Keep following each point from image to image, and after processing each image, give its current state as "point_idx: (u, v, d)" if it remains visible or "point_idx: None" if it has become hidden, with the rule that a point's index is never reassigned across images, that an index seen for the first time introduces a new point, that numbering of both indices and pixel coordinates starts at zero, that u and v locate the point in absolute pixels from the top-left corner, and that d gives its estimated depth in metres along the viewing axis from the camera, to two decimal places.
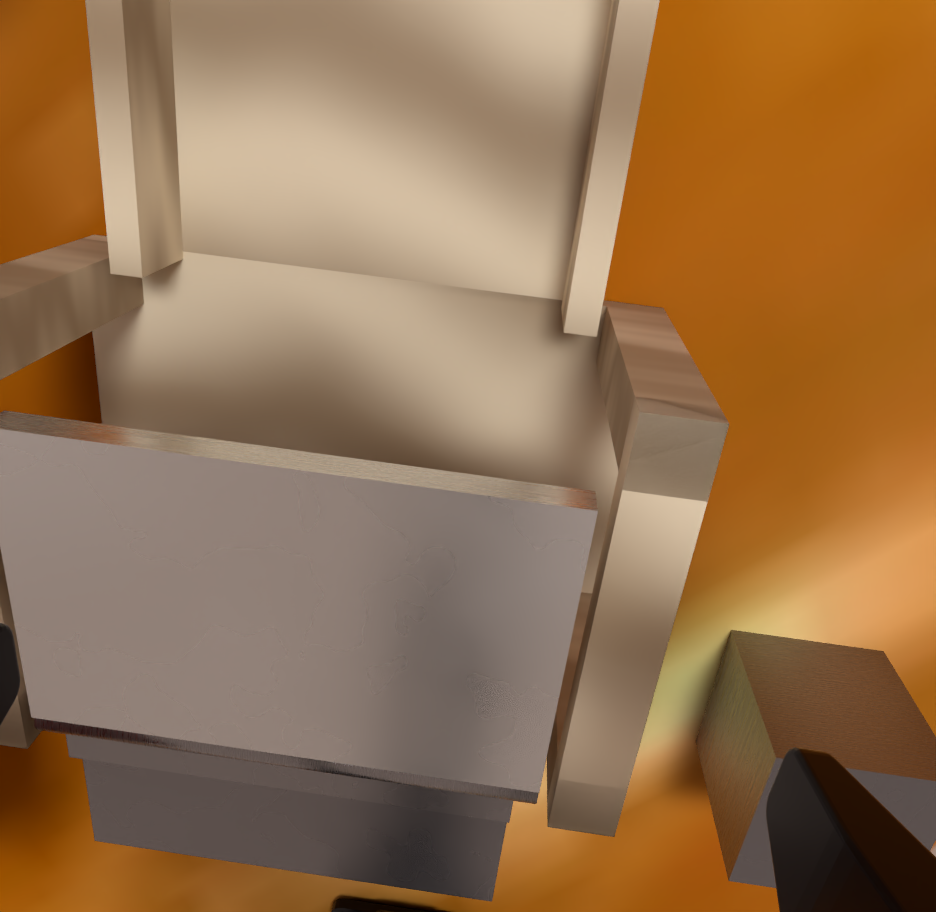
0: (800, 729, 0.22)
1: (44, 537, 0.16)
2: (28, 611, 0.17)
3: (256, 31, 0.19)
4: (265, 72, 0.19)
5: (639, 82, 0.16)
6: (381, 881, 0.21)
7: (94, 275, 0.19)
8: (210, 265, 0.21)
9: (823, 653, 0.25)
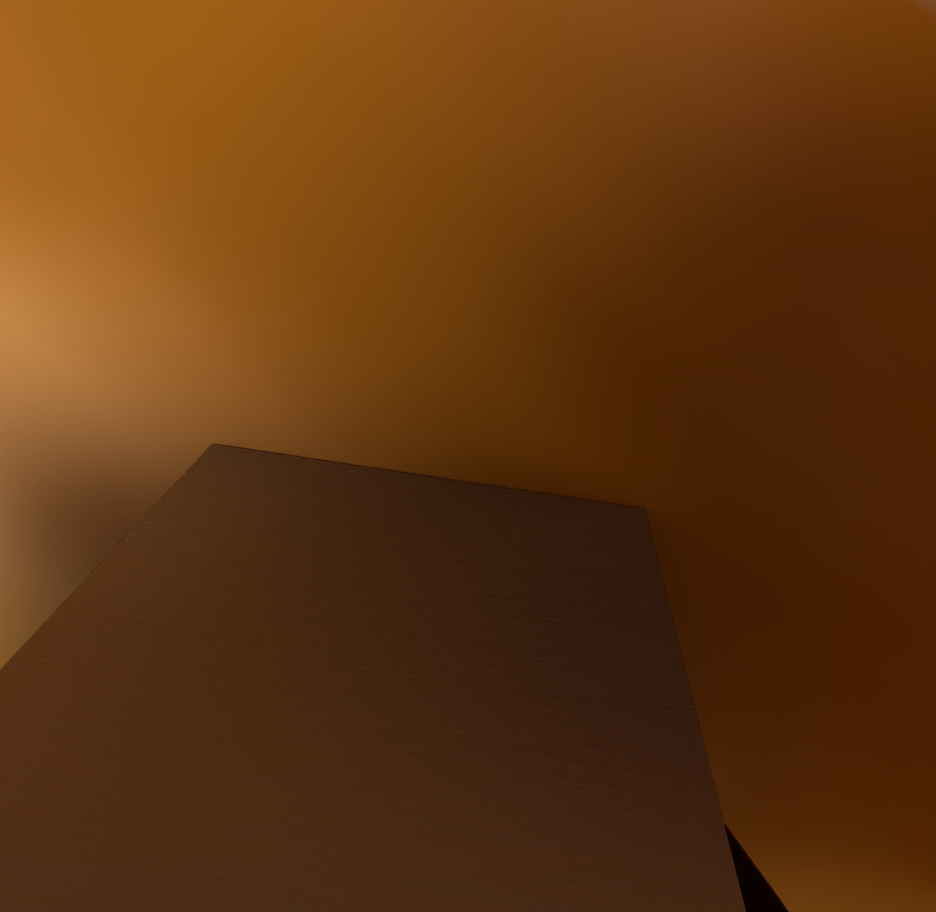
0: None
1: None
2: None
3: None
4: None
5: None
6: None
7: None
8: None
9: None
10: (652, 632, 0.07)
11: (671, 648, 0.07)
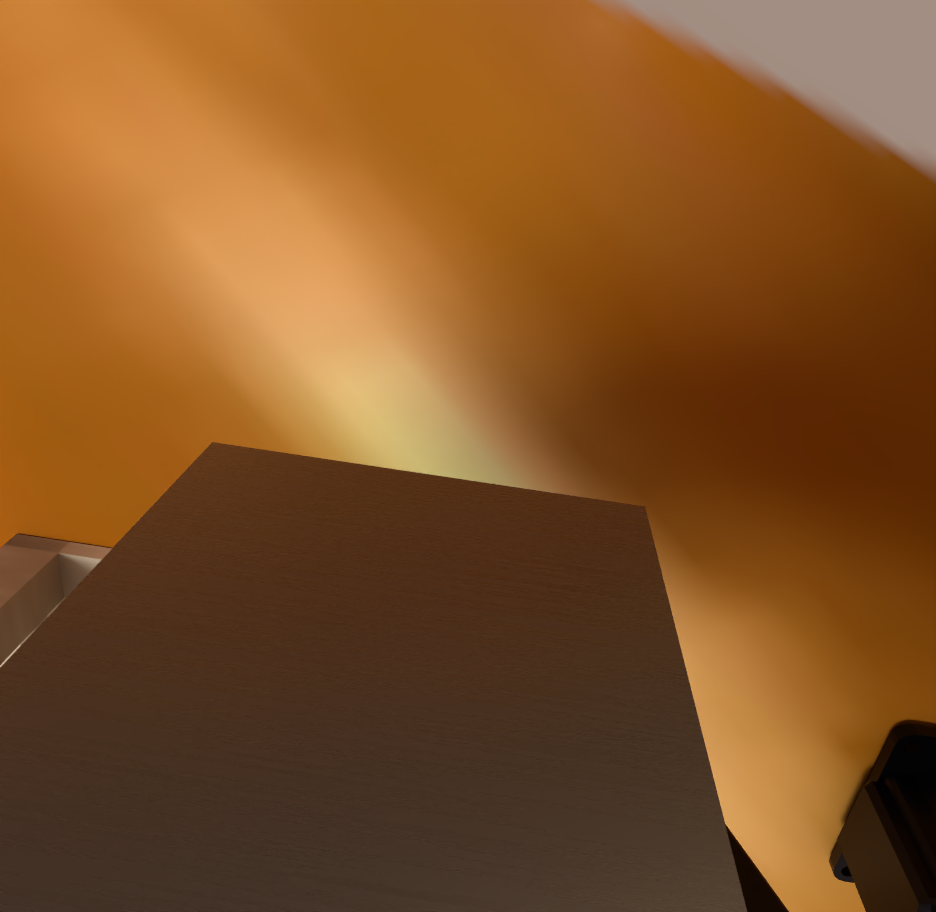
0: None
1: None
2: None
3: None
4: None
5: None
6: None
7: None
8: None
9: None
10: (652, 629, 0.07)
11: (671, 645, 0.07)
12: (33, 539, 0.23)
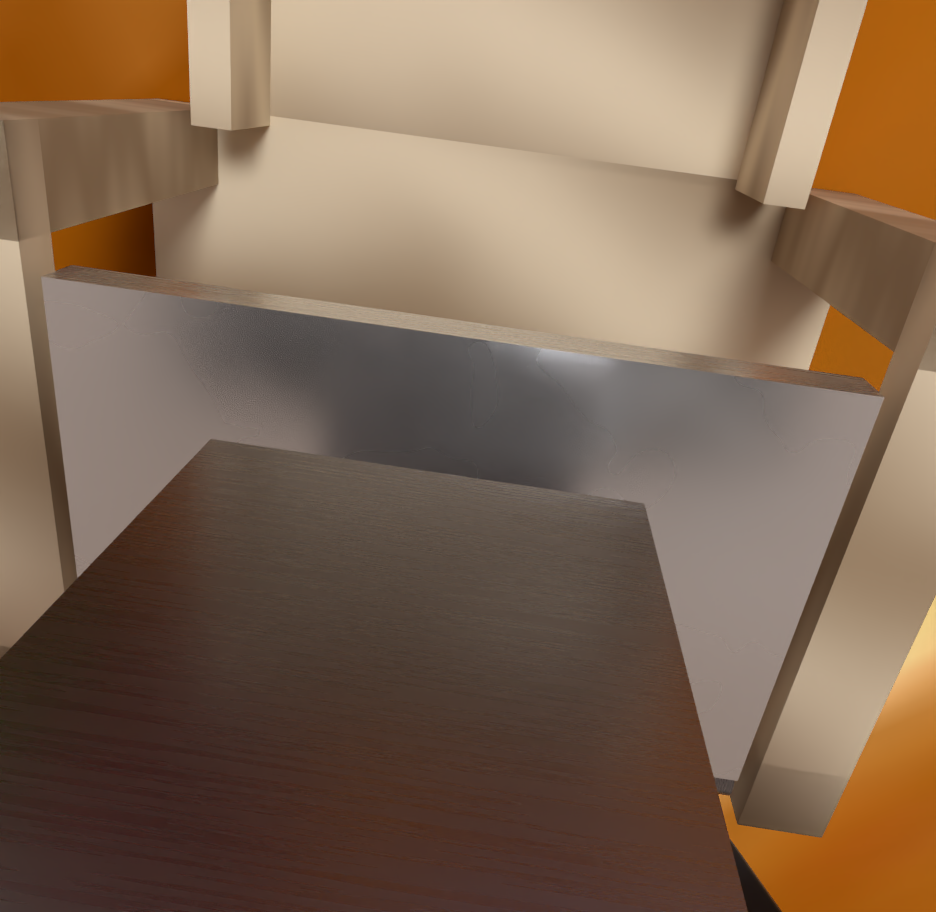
0: None
1: (121, 436, 0.12)
2: (94, 538, 0.13)
3: None
4: None
5: None
6: None
7: (170, 127, 0.15)
8: (303, 134, 0.17)
9: None
10: (652, 625, 0.07)
11: (669, 640, 0.07)
12: None
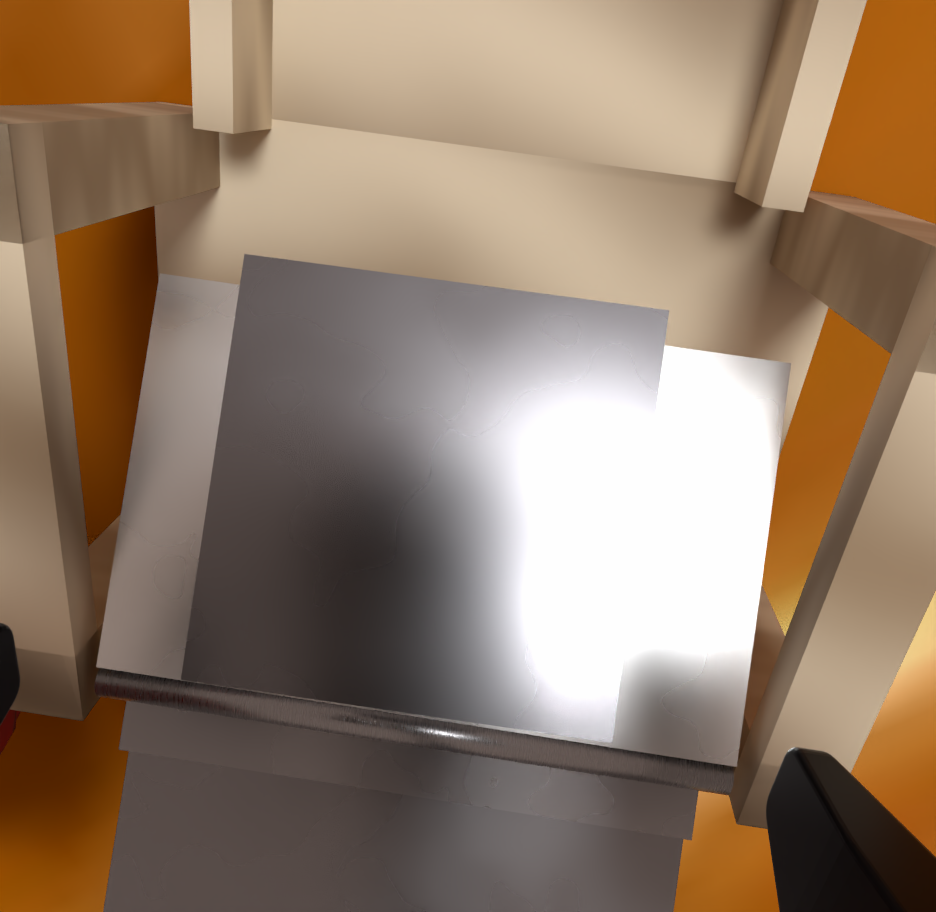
0: None
1: (191, 403, 0.15)
2: (142, 503, 0.15)
3: None
4: None
5: None
6: None
7: (172, 130, 0.15)
8: (304, 137, 0.17)
9: None
10: None
11: None
12: None
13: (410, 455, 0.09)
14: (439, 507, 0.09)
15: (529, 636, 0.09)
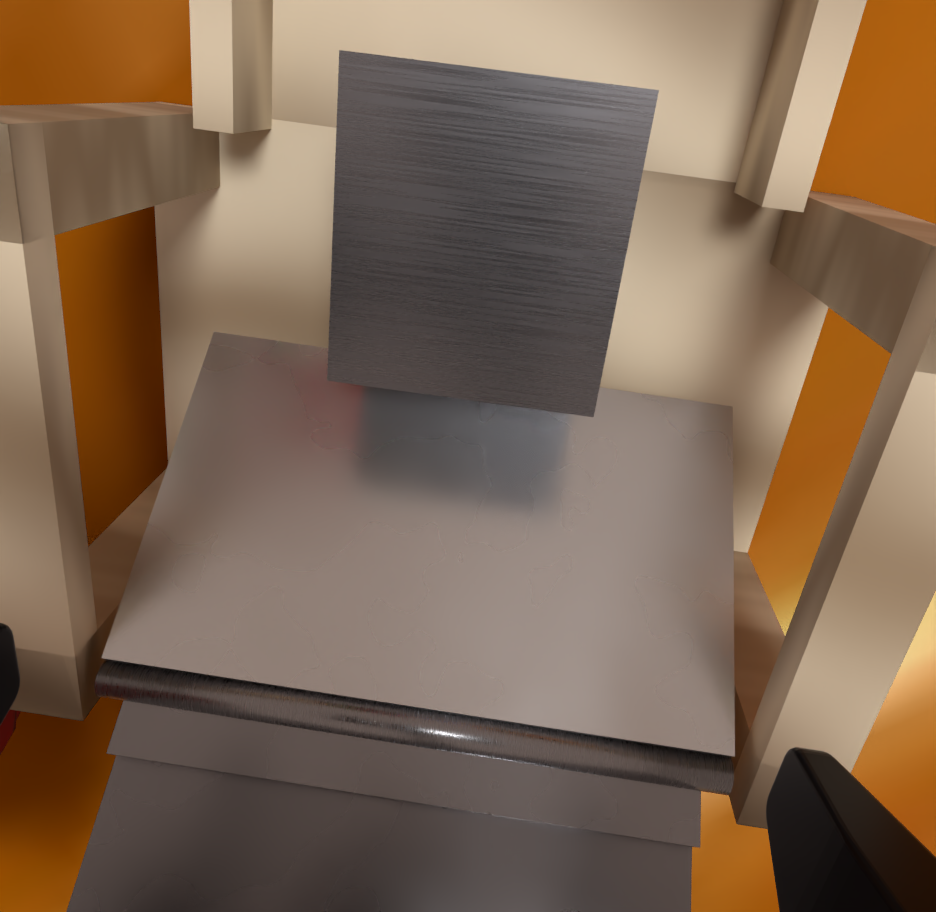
0: None
1: (227, 427, 0.17)
2: (171, 507, 0.16)
3: None
4: None
5: None
6: None
7: (172, 130, 0.15)
8: (304, 137, 0.17)
9: None
10: None
11: None
12: None
13: None
14: None
15: None
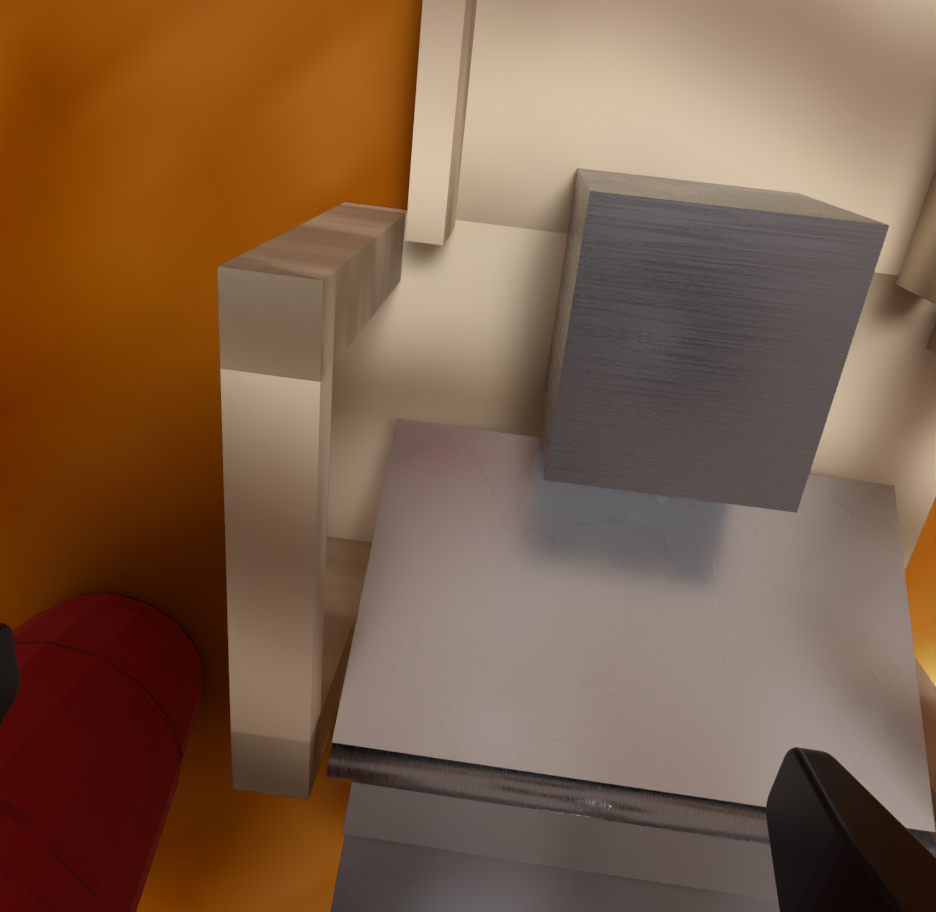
0: (575, 253, 0.14)
1: (422, 513, 0.18)
2: (378, 593, 0.17)
3: None
4: (587, 6, 0.16)
5: None
6: None
7: (385, 243, 0.16)
8: (485, 236, 0.18)
9: (547, 400, 0.18)
10: None
11: None
12: None
13: (693, 188, 0.16)
14: (719, 194, 0.15)
15: (803, 209, 0.14)
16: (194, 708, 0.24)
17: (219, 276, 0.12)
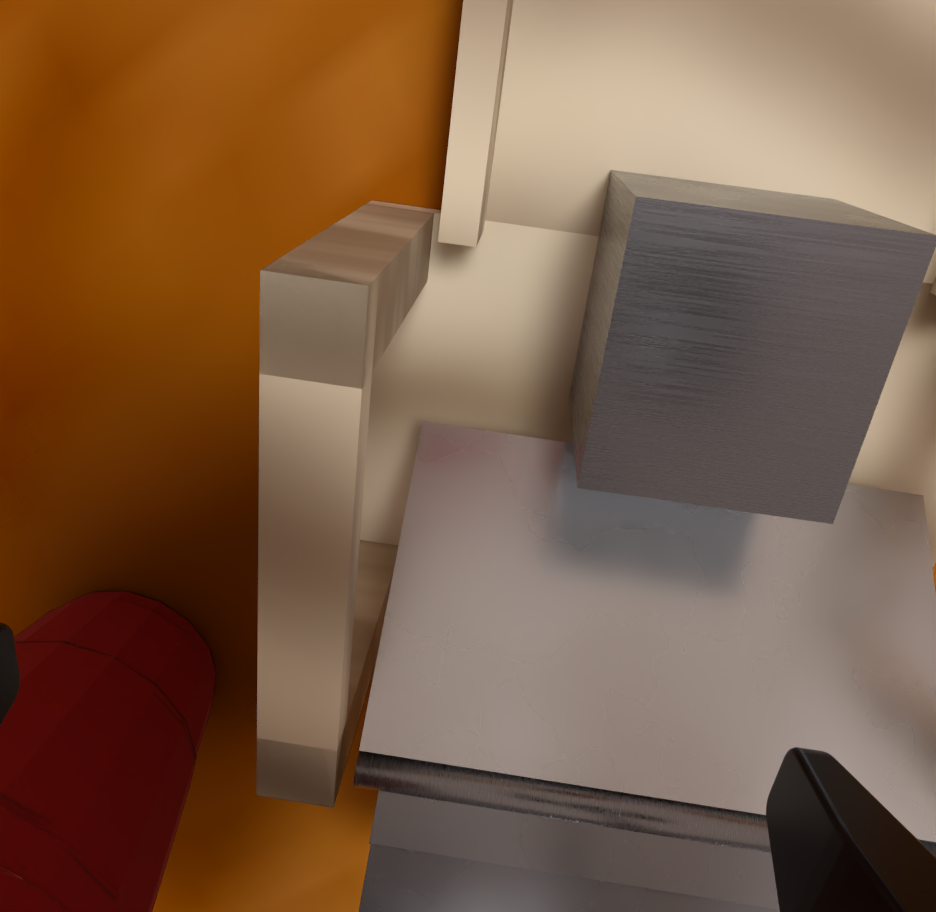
0: (615, 258, 0.14)
1: (448, 518, 0.17)
2: (405, 599, 0.17)
3: None
4: (626, 5, 0.16)
5: None
6: None
7: (418, 244, 0.16)
8: (515, 237, 0.18)
9: (576, 405, 0.17)
10: None
11: None
12: None
13: (733, 194, 0.15)
14: (760, 199, 0.15)
15: (849, 217, 0.14)
16: (207, 708, 0.24)
17: (261, 280, 0.11)
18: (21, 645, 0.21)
